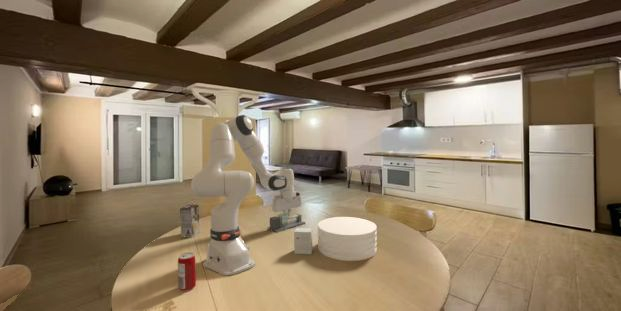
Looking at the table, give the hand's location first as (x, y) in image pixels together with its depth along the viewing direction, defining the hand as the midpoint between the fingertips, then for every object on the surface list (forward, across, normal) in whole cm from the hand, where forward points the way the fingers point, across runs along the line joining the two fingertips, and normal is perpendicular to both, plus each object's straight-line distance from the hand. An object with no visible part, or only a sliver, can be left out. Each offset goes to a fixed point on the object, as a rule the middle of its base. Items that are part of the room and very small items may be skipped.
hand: (287, 216), depth 160 cm
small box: (+6, -18, -35) cm, 40 cm away
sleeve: (+4, -4, 0) cm, 5 cm away
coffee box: (+6, -48, +26) cm, 55 cm away
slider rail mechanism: (+6, 0, 0) cm, 6 cm away
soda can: (+6, -68, -29) cm, 74 cm away
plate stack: (+7, 0, -46) cm, 46 cm away
